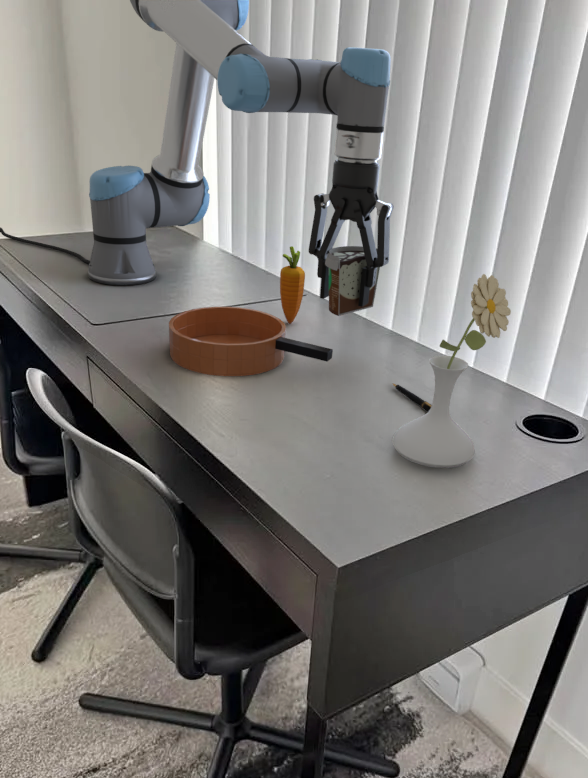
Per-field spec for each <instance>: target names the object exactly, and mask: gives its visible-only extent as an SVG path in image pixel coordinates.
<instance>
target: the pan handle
mask: <svg viewBox="0 0 588 778" xmlns="http://www.w3.org/2000/svg"><path fill="white" fill-rule="evenodd" d="M275 349H278V350H282V351H285V353H291V354H295V355H299V356H302V357H306V358H310V359H315V360H319V361H322V362H329V361H330V360H332V359H333V352H334V351H333V350H334V349H333V348H328V347H325V346H321V345H316V344H313V343H308V342H304V341H300V340H296V339H292V338H287V337H285V338H284V337H280V338H278V339H277V340H276V345H275Z"/></svg>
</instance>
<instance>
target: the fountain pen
mask: <svg viewBox="0 0 588 778" xmlns="http://www.w3.org/2000/svg"><path fill="white" fill-rule="evenodd" d="M391 384H392V385H393V387H394V388H395V390H397V391H398V392H399V393H400V394H402V395H404V396H405V397H406V398H408V399H409V400H410V401H412V403H415V404H416V405H417V406H419V407H420V408H421V409H422V410H424V411H425V412H427V413H428V412H429V410H430V409H431V406H432V404H431V403H429V402H428V401H427V400H424V399H423V398H421V397H420V396H417V395H416V394H414V393H413V392H412V391H410V390H408V389H406V387H405V388H404V387H403V386H401V385H400V384H396V383H391Z"/></svg>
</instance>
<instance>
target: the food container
mask: <svg viewBox="0 0 588 778" xmlns="http://www.w3.org/2000/svg"><path fill="white" fill-rule="evenodd" d="M376 252H377V247H376ZM325 265H326V266H327V267H329V296H328V311H329V312H330V313H331V314H333V315H335V316H336V317H340V316H344V315H348V314H351V313H356V312H359V311H364V310H366V309H370V308H373V307H374V304H375V298H376V292H377V286H378V281H379V275H380V271H381V270H380V269H381V267H378V268H377V274H376V282H375V285H374V286H373V287H371V288H370V291H369V300H368V304H366V305H364V306H363V307H361V306H358V304H359V295H360V285H361V276H362V268H364V267H366V266H367V264H366V260H365V255H364V250H363V245H362V246H360V245H359V246H358V245H345V246H343V245H342V246H336V247H333V248H332V249H330V251H329V253H328V254H327V258H326V261H325Z"/></svg>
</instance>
